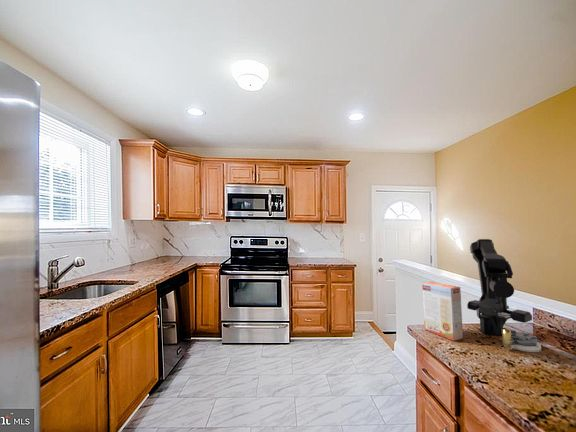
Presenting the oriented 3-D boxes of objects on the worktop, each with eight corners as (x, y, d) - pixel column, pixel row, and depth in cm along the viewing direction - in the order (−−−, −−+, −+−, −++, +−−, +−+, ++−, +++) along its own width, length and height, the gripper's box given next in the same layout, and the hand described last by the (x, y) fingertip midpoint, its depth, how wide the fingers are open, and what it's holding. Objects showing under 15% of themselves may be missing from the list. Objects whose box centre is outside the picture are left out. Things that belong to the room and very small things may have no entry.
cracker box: (464, 339, 109) (461, 286, 110) (453, 341, 107) (450, 288, 108) (433, 327, 122) (431, 280, 123) (423, 329, 120) (421, 282, 121)
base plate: (515, 351, 97) (514, 346, 97) (496, 339, 108) (495, 335, 108) (549, 352, 96) (549, 348, 96) (526, 340, 107) (526, 335, 107)
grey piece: (513, 334, 108) (512, 319, 108) (542, 343, 100) (541, 326, 100) (491, 341, 102) (490, 325, 102) (520, 351, 94) (519, 333, 94)
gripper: (458, 288, 106) (459, 329, 105) (515, 300, 90) (517, 348, 89) (474, 285, 111) (476, 324, 111) (531, 296, 95) (533, 341, 94)
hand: (498, 333), depth 101 cm, fingers closed
